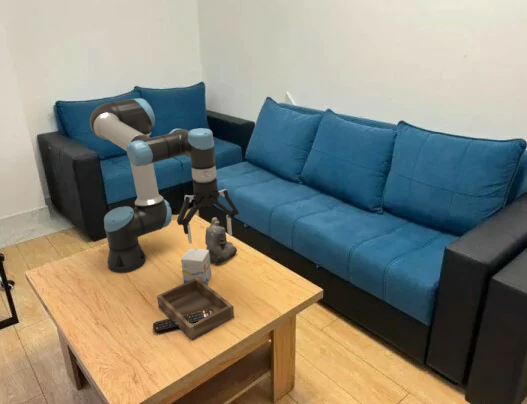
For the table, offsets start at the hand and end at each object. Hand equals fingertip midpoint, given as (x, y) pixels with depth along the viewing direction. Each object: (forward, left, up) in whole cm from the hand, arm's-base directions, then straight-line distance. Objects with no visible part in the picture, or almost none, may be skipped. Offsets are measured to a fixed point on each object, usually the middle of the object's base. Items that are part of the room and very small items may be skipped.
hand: (210, 237), depth 145 cm
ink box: (-14, +1, -25) cm, 29 cm away
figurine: (-22, +17, -25) cm, 38 cm away
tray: (+2, -10, -25) cm, 27 cm away
